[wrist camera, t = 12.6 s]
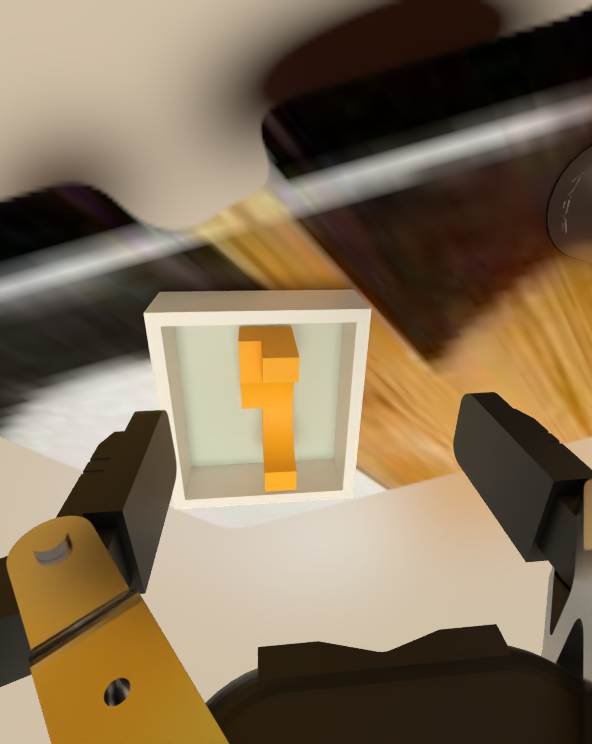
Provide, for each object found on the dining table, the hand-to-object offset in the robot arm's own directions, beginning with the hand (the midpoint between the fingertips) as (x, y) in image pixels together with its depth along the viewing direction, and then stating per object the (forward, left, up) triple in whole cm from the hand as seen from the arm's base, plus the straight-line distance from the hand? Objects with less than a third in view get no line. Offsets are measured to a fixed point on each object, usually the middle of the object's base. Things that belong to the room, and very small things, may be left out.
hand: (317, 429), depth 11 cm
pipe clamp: (+1, +11, -23) cm, 26 cm away
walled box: (+1, +11, -24) cm, 27 cm away
